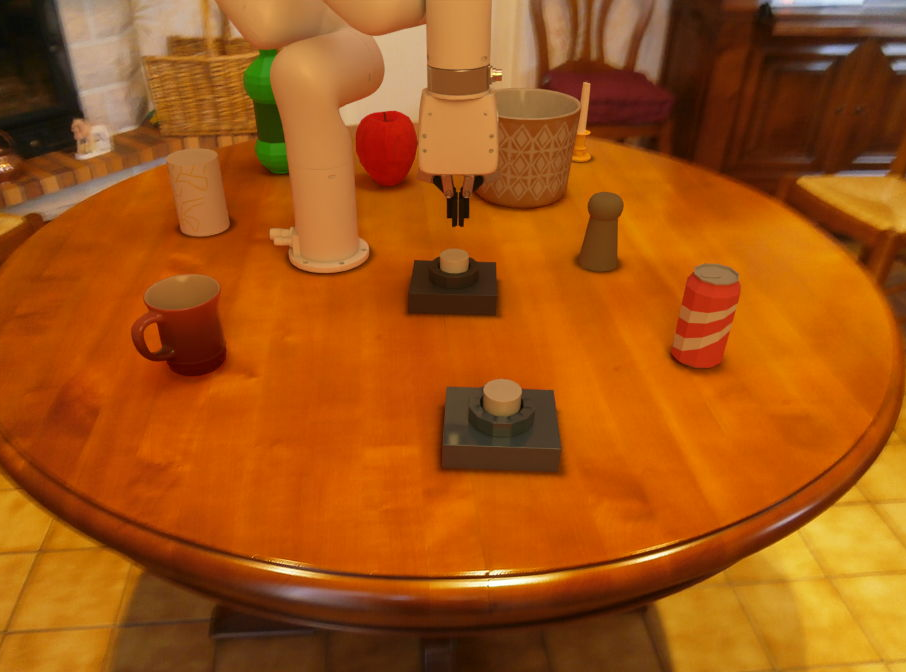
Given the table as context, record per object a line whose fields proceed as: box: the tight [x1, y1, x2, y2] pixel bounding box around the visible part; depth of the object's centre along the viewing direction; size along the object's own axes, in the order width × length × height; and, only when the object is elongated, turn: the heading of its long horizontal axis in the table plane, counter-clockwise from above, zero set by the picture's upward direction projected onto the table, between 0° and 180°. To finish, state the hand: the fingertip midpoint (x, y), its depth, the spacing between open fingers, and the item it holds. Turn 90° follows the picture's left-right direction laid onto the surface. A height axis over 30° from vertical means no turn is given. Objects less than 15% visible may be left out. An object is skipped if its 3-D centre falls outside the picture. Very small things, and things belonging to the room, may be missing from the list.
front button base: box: [441, 385, 562, 473], centre depth 79 cm, size 12×10×5 cm
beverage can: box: [670, 263, 742, 369], centre depth 89 cm, size 6×6×12 cm
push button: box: [439, 248, 470, 273], centre depth 102 cm, size 4×4×2 cm
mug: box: [130, 273, 228, 378], centre depth 88 cm, size 12×9×10 cm
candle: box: [572, 81, 592, 163], centre depth 149 cm, size 5×5×16 cm
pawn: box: [577, 191, 625, 273], centre depth 111 cm, size 6×6×11 cm
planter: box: [475, 87, 582, 209], centre depth 133 cm, size 19×19×16 cm
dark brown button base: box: [408, 256, 498, 317], centre depth 104 cm, size 12×10×5 cm
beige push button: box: [483, 378, 522, 416], centre depth 77 cm, size 4×4×2 cm
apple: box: [354, 110, 418, 187], centre depth 138 cm, size 12×12×13 cm
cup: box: [165, 147, 231, 237], centre depth 122 cm, size 8×8×12 cm
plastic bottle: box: [242, 48, 289, 175], centre depth 140 cm, size 10×10×25 cm
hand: (458, 222), depth 99 cm, fingers closed
